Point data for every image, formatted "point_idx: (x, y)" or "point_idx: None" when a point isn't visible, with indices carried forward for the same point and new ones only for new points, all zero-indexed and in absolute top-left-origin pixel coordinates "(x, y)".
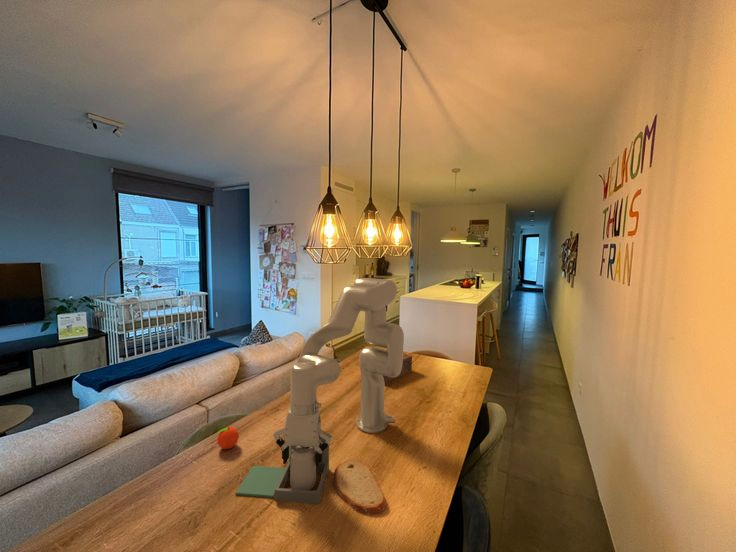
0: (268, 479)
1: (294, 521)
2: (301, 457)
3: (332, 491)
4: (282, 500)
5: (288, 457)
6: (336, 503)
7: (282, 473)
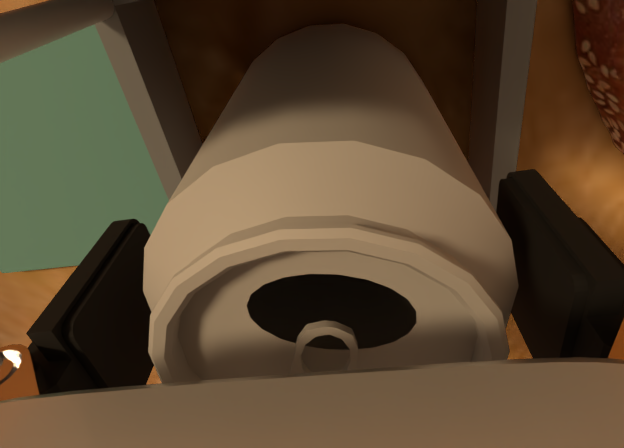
0: (76, 156)
1: None
2: None
3: (564, 126)
4: None
5: (145, 240)
6: (593, 205)
7: None
